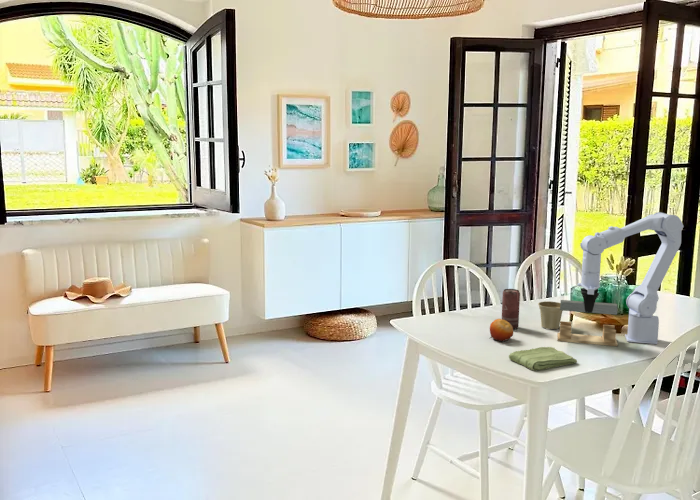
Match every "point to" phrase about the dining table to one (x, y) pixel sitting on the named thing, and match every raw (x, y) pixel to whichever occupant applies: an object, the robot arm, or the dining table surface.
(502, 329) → the fruit
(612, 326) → the tan piece
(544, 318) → the flower pot
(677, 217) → the robot arm
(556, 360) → the washcloth
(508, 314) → the can
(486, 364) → the dining table surface
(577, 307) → the rail
